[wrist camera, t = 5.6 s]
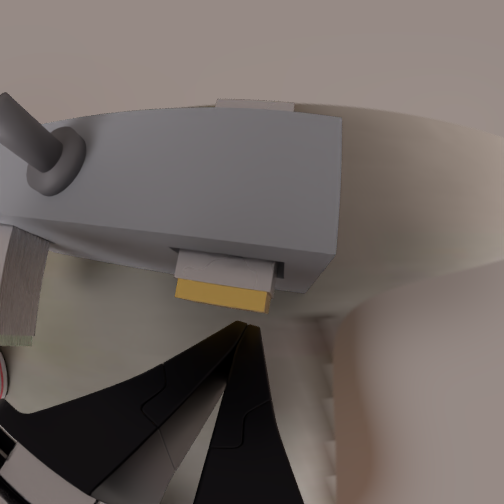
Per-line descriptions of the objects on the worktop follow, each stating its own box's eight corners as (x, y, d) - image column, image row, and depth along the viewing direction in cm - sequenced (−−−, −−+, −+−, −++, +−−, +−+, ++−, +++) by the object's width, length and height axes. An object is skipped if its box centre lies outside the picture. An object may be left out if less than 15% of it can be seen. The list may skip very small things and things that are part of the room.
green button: (33, 346, 12) (-6, 346, 9) (5, 330, 13) (-32, 328, 10) (59, 210, 14) (24, 190, 11) (28, 208, 14) (-4, 190, 11)
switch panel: (304, 293, 16) (384, 190, 3) (54, 252, 19) (-94, 187, 6) (312, 225, 17) (363, 16, 4) (68, 202, 20) (-62, 112, 6)
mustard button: (271, 314, 12) (266, 312, 9) (197, 302, 12) (170, 296, 9) (293, 144, 13) (294, 102, 10) (229, 139, 13) (217, 98, 11)
